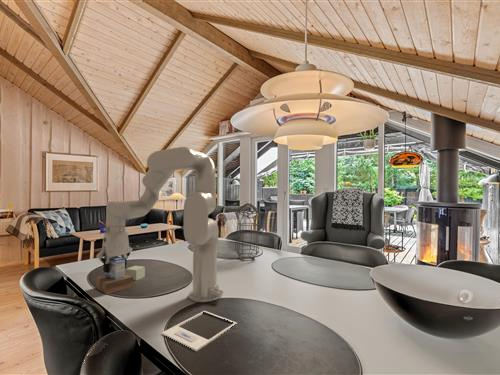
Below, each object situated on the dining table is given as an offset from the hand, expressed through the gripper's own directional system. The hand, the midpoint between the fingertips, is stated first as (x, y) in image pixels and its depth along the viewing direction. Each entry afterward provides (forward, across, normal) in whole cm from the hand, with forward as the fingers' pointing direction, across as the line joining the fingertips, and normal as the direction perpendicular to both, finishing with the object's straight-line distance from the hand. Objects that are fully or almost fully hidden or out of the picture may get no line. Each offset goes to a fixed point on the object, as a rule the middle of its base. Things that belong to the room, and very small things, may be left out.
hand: (115, 269), depth 118 cm
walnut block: (+8, 0, 0) cm, 8 cm away
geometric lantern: (+8, +74, -22) cm, 78 cm away
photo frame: (+8, -6, -55) cm, 56 cm away
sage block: (+8, +13, +4) cm, 16 cm away
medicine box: (+3, 0, 0) cm, 3 cm away
